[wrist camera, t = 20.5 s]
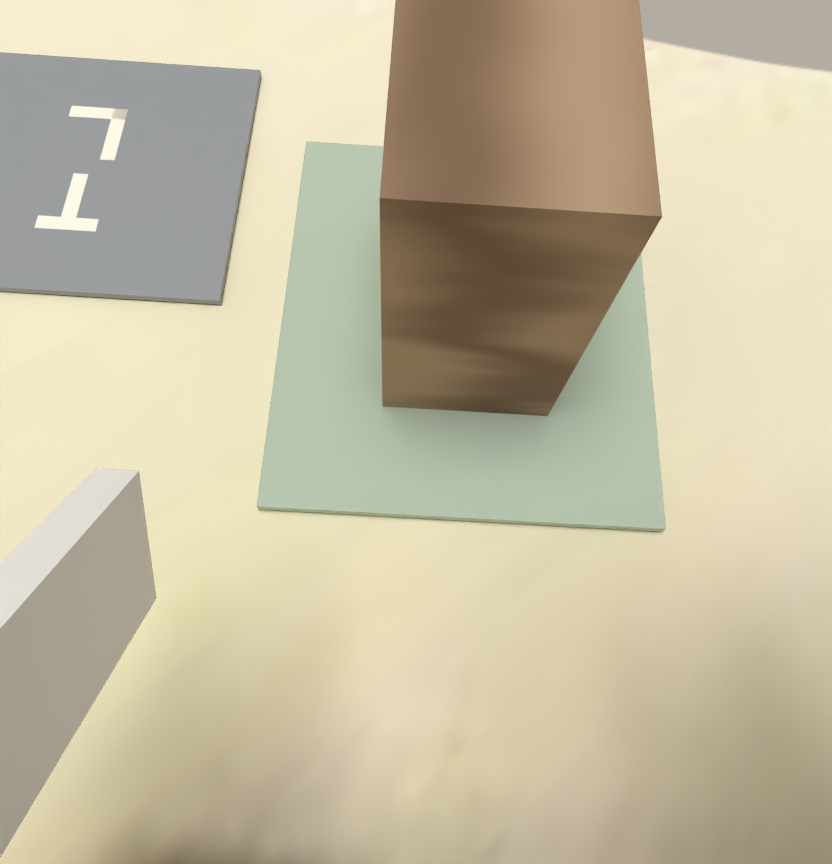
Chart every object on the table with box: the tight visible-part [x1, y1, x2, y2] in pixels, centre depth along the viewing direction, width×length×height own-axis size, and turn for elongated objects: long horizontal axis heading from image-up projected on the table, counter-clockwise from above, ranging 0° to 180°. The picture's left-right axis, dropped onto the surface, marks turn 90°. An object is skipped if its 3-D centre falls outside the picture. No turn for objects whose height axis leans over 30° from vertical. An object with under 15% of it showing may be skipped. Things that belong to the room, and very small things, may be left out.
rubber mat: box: [257, 141, 666, 532], centre depth 26 cm, size 14×16×1 cm
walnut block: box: [379, 0, 662, 416], centre depth 21 cm, size 6×8×11 cm
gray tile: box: [0, 52, 261, 305], centre depth 28 cm, size 13×12×1 cm
